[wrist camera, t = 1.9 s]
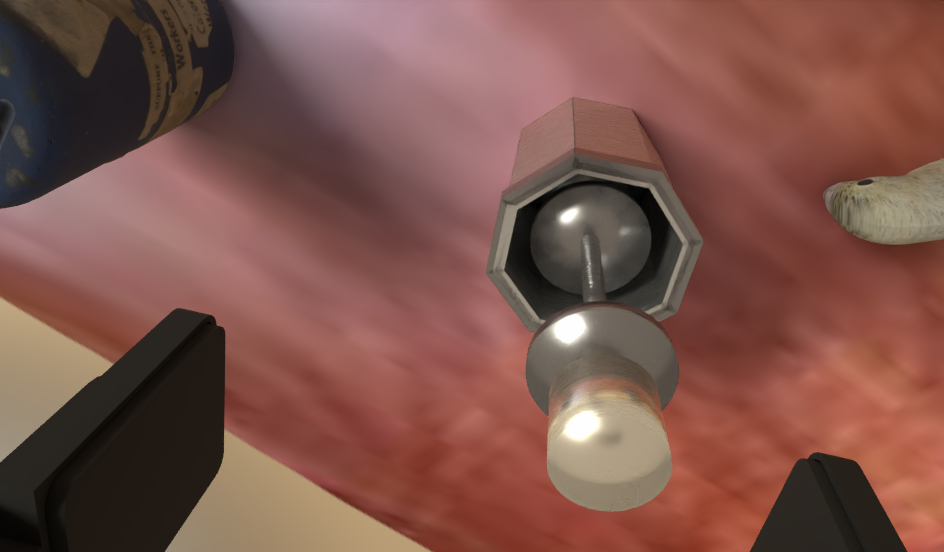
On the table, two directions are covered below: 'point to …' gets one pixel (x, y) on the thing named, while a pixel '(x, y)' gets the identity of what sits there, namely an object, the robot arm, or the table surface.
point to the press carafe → (599, 159)
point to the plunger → (600, 352)
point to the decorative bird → (892, 206)
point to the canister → (100, 82)
